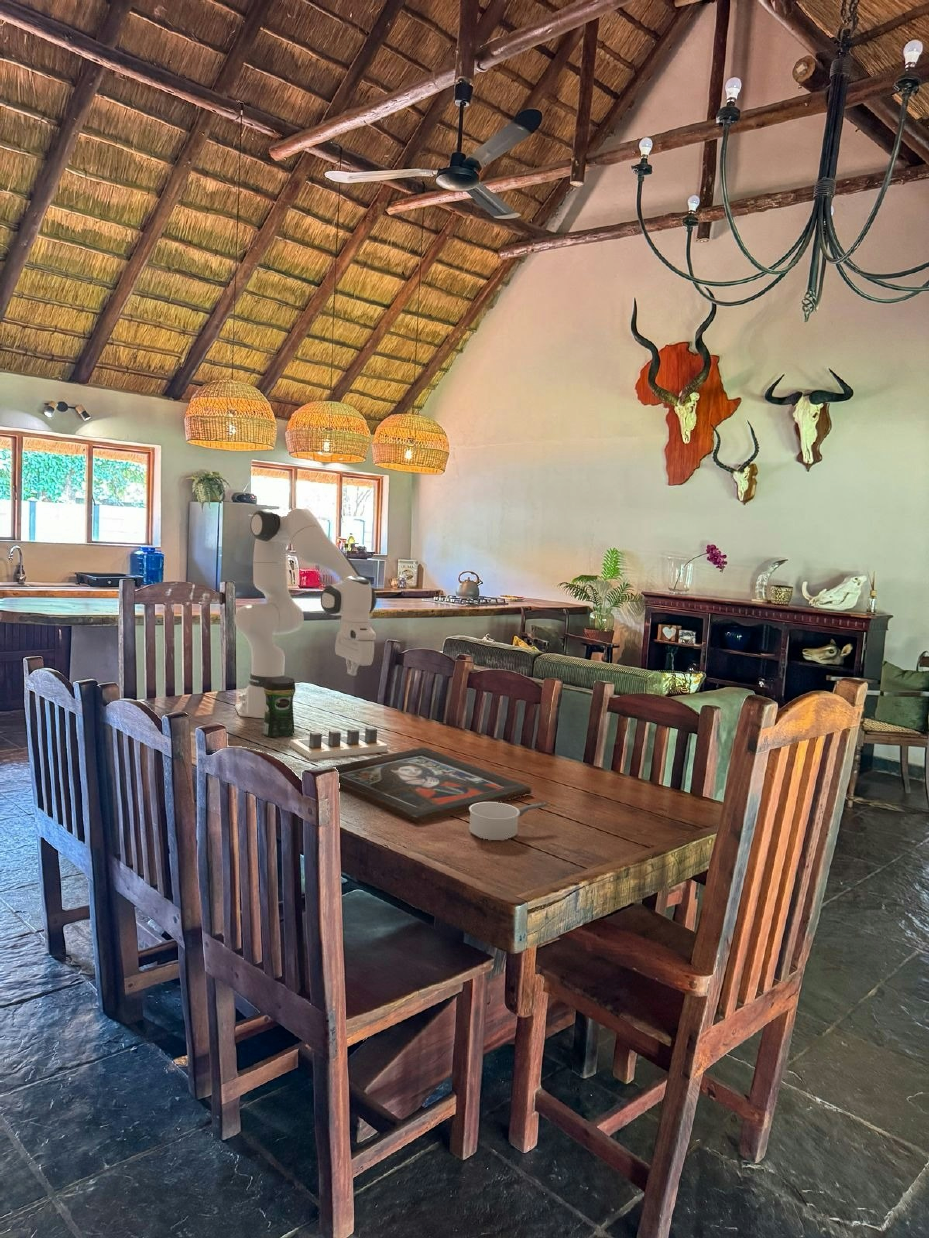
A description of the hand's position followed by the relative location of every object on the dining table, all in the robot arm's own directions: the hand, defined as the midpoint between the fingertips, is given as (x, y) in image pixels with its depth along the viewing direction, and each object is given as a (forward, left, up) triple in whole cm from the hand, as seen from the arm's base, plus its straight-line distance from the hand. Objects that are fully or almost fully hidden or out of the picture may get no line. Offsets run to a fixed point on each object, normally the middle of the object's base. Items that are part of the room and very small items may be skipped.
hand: (351, 674), depth 248 cm
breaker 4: (+7, +4, -20) cm, 21 cm away
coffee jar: (-18, -16, -22) cm, 33 cm away
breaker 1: (+7, -14, -20) cm, 25 cm away
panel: (+4, -5, -22) cm, 23 cm away
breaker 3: (+7, -2, -20) cm, 21 cm away
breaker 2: (+7, -8, -20) cm, 22 cm away
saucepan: (+81, +2, -22) cm, 84 cm away
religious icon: (+44, 0, -23) cm, 49 cm away
